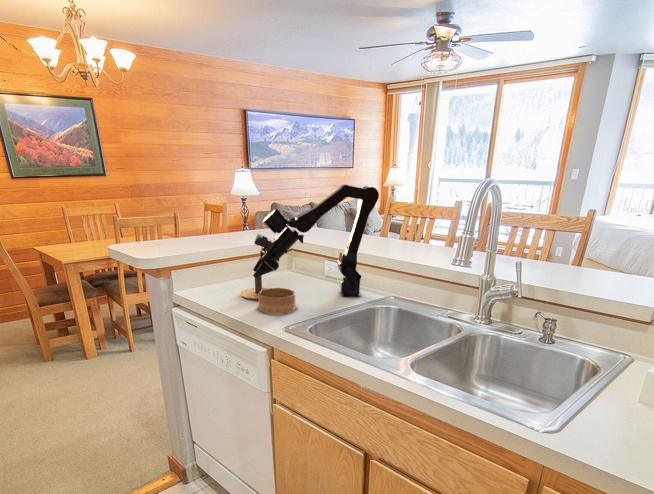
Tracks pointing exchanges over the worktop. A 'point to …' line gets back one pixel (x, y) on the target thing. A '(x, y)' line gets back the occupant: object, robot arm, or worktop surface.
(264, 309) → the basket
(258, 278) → the lid
